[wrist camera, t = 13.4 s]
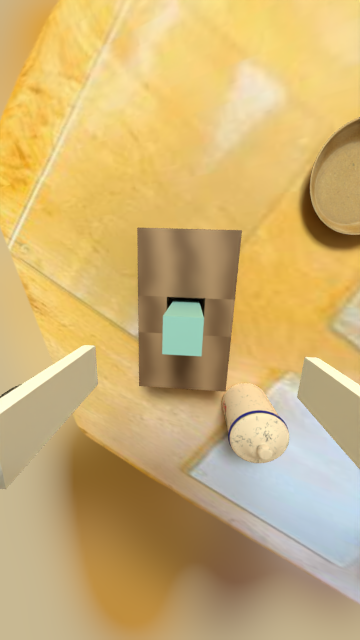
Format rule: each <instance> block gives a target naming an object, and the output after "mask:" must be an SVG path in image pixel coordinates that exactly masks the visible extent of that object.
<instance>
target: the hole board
mask: <svg viewBox="0 0 360 640" xmlns="http://www.w3.org/2000/svg"><path fill="white" fill-rule="evenodd" d="M137 230H138V315H139V386H148V387H164V388H179V389H195V390H210V391H226V381H227V371H228V361H229V351H230V341H231V332H232V322H233V312H234V302H235V292H236V282H237V273H238V263H239V253H240V243H241V233H242V231H241V230H205V229H168V228H137ZM174 299H188V300H199V303H200V306H201V310H202V313H203V316H204V326H203V341H202V356H186V355H168V354H162V341H163V315H164V314H165V312H166V311H167V309H168V308H169V306H170V305H171V304H172V302H173V301H174Z"/></svg>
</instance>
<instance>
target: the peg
mask: <svg viewBox="0 0 360 640" xmlns="http://www.w3.org/2000/svg"><path fill="white" fill-rule="evenodd" d="M203 326H204V316H203V313H202V310H201V306H200V303H199V300H188V299H174V301H173V302H172V304H171V305H170V306H169V308H168V309H167V311H166V312H165V314H164V315H163V341H162V354H168V355H186V356H202V341H203Z"/></svg>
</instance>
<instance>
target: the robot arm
mask: <svg viewBox="0 0 360 640" xmlns="http://www.w3.org/2000/svg"><path fill="white" fill-rule="evenodd" d="M97 385H98V379H97V365H96V350H95V346H90V345H83V346H82V347H80V348H78V349H77V350H75V351H74V352H72V353H71V354H69V355H67V356H66V357H64V358H63V359H61V360H60V361H58V362H56V363H55V364H53V365H52V366H50V367H49V368H47V369H46V370H44V371H42V372H41V373H39V374H38V375H36V376H35V377H33V378H32V379H30V380H28V381H27V382H25V383H23V384H21V385H19V386H16V387H14V388H12V389H10V390H9V391H7V392H5V393H4V394H2V396H0V489H6V488H7V487H8V486H9V485H10V484H11V483H12V482H13V481H14V479H15V478H16V477H17V476H18V475H19V474H20V473H21V471H22V470H23V469H24V468H25V467H26V466H27V464H28V463H29V462H30V461H31V460H32V459H33V458H34V457H35V455H36V454H37V453H38V452H39V451H40V450H41V449H42V447H43V446H44V445H45V444H46V443H47V442H48V440H49V439H50V438H51V437H52V436H53V435H54V434H55V433H56V431H57V430H58V429H59V428H60V427H61V425H63V423H64V422H65V421H66V420H67V419H68V418H69V417H70V415H71V414H72V413H73V412H74V411H75V410H76V409H77V407H78V406H79V405H80V404H81V403H82V402H83V401H84V399H85V398H86V397H87V396H88V395H89V394H90V393H91V391H92V390H93V389H94V388H95V387H96V386H97ZM297 397H298V399H299V400H300V401H301V402H302V403H303V404H304V406H305V407H306V408H307V409H308V410H309V411H310V412H311V414H312V415H313V416H314V417H315V418H316V419H317V421H318V422H319V423H320V424H321V425H322V426H323V428H324V429H325V430H326V431H327V432H328V433H329V434H330V436H331V437H332V438H333V439H334V440H335V441H336V443H337V444H338V445H339V446H340V447H341V448H342V450H343V451H344V452H345V453H346V454H347V455H348V456H349V458H350V459H351V460H352V461H353V462H354V463H355V465H356V466H357V467H358V468H359V469H360V385H359V384H357V383H356V382H354V381H353V380H351V379H350V378H348V377H346V376H345V375H343V374H342V373H340V372H339V371H337V370H336V369H334V368H333V367H331V366H330V365H328V364H327V363H325V362H323V361H322V360H320V359H319V358H312V357H305V359H304V364H303V369H302V375H301V380H300V385H299V390H298V396H297Z"/></svg>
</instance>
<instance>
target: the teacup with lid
mask: <svg viewBox="0 0 360 640" xmlns="http://www.w3.org/2000/svg"><path fill="white" fill-rule="evenodd" d="M222 408H223V412H224V416H225V420H226V425H227V429H228V439H229V443H230V446H231V448H232V449H233V450H234V452H235V453H236V454H237V455H238V456H239V457H241V458H242V459H244V460H246V461H249V462H253V463H265V462H270V461H272V460H274V459H276V458H278V457H279V456H281V455H282V454H283V453H284V451H285V450H286V448H287V446H288V443H289V432H288V428H287V426H286V424H285V422H284V421H283V420H282V419H281V418H280V417H279V416H278V414H277V412H276V411H275V409H274V408H273V406H272V404H271V403H270V401H269V400H268V398H267V396H266V395H265V393H264V392H263V391H262V389H260V388H259V387H258V386H256V385H254V384H250V383H240V384H236V385H234V386H232V387H230V388H229V389H228V390H227V391H226V392H225V394H224V396H223V399H222Z"/></svg>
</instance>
